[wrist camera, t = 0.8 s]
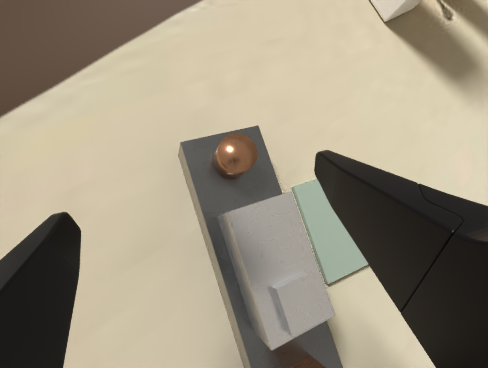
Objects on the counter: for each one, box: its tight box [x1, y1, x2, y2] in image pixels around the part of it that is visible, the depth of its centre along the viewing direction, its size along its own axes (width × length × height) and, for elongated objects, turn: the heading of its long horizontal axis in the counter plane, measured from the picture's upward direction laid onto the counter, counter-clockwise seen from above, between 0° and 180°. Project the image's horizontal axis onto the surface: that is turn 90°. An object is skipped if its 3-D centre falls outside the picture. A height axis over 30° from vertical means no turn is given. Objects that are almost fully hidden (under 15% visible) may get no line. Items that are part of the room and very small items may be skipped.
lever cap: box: [217, 192, 335, 350], centre depth 19 cm, size 9×5×4 cm, turn 19°
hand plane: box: [178, 126, 343, 368], centre depth 20 cm, size 22×7×8 cm, turn 19°
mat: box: [292, 179, 368, 284], centre depth 27 cm, size 10×9×1 cm
